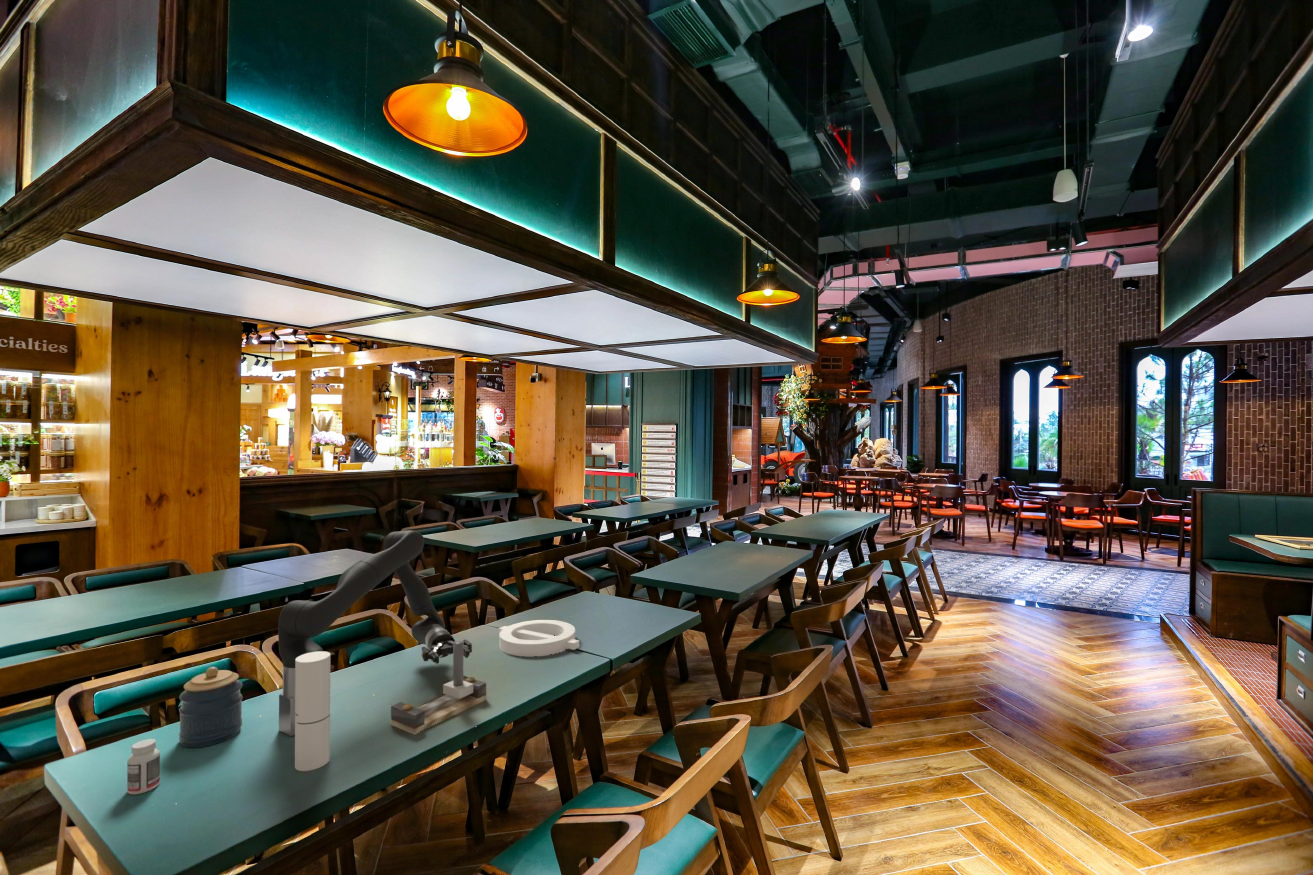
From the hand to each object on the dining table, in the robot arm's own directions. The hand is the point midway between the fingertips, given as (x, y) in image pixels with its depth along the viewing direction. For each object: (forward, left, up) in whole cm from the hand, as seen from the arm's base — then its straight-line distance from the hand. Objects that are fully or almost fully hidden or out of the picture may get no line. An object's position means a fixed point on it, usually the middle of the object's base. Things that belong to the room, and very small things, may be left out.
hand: (452, 657), depth 174 cm
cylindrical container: (-42, -2, -12) cm, 43 cm away
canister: (-49, +33, -12) cm, 60 cm away
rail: (-9, -6, -12) cm, 15 cm away
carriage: (-3, -6, -8) cm, 10 cm away
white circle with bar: (+47, +10, -12) cm, 50 cm away
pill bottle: (-67, +19, -12) cm, 70 cm away
